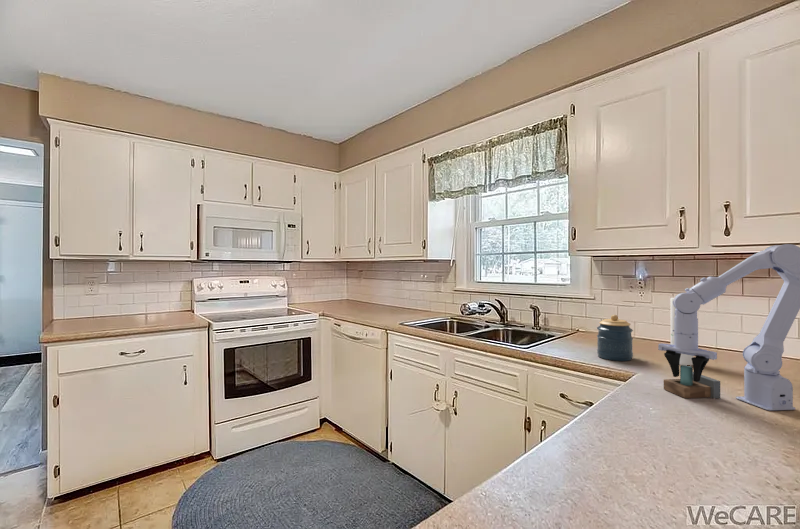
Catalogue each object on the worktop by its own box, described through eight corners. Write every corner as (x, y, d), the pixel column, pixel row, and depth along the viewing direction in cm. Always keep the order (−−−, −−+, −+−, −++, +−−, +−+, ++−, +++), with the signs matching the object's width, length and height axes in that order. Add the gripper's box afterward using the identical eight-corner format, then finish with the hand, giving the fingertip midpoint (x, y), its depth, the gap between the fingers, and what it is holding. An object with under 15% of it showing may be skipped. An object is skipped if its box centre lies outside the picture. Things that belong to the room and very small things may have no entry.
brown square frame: (710, 397, 112) (710, 386, 112) (684, 398, 112) (684, 387, 112) (688, 388, 120) (688, 378, 120) (663, 389, 120) (663, 379, 120)
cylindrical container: (683, 366, 146) (683, 299, 146) (666, 361, 153) (665, 298, 153) (698, 364, 148) (697, 299, 148) (680, 360, 155) (679, 297, 155)
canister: (640, 359, 157) (640, 315, 157) (618, 363, 151) (618, 317, 151) (611, 352, 168) (610, 311, 168) (589, 355, 163) (589, 313, 163)
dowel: (694, 393, 116) (694, 367, 115) (690, 395, 114) (690, 368, 114) (682, 391, 118) (682, 364, 118) (678, 392, 116) (678, 366, 116)
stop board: (720, 398, 111) (720, 381, 111) (713, 398, 111) (713, 381, 111) (691, 387, 121) (691, 371, 121) (685, 387, 121) (685, 371, 121)
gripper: (721, 335, 112) (721, 382, 112) (666, 328, 124) (666, 370, 124) (710, 338, 108) (710, 386, 108) (654, 330, 121) (654, 374, 121)
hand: (686, 378), depth 116 cm, fingers open, 5 cm apart
